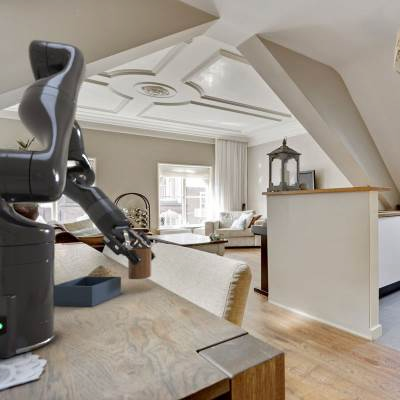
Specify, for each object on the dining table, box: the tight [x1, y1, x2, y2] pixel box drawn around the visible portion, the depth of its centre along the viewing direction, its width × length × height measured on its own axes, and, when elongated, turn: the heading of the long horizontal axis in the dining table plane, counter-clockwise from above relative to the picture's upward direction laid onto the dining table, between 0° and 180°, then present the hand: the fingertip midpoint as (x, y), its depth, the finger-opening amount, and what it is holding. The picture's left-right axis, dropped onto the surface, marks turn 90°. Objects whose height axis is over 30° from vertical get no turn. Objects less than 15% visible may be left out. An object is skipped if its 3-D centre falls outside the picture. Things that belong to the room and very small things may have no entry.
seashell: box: [87, 265, 118, 277], centre depth 100 cm, size 8×6×8 cm
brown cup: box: [127, 246, 152, 280], centre depth 87 cm, size 6×6×8 cm
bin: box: [54, 275, 122, 307], centre depth 78 cm, size 10×10×5 cm
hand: (145, 260), depth 86 cm, fingers closed on brown cup, 5 cm apart
